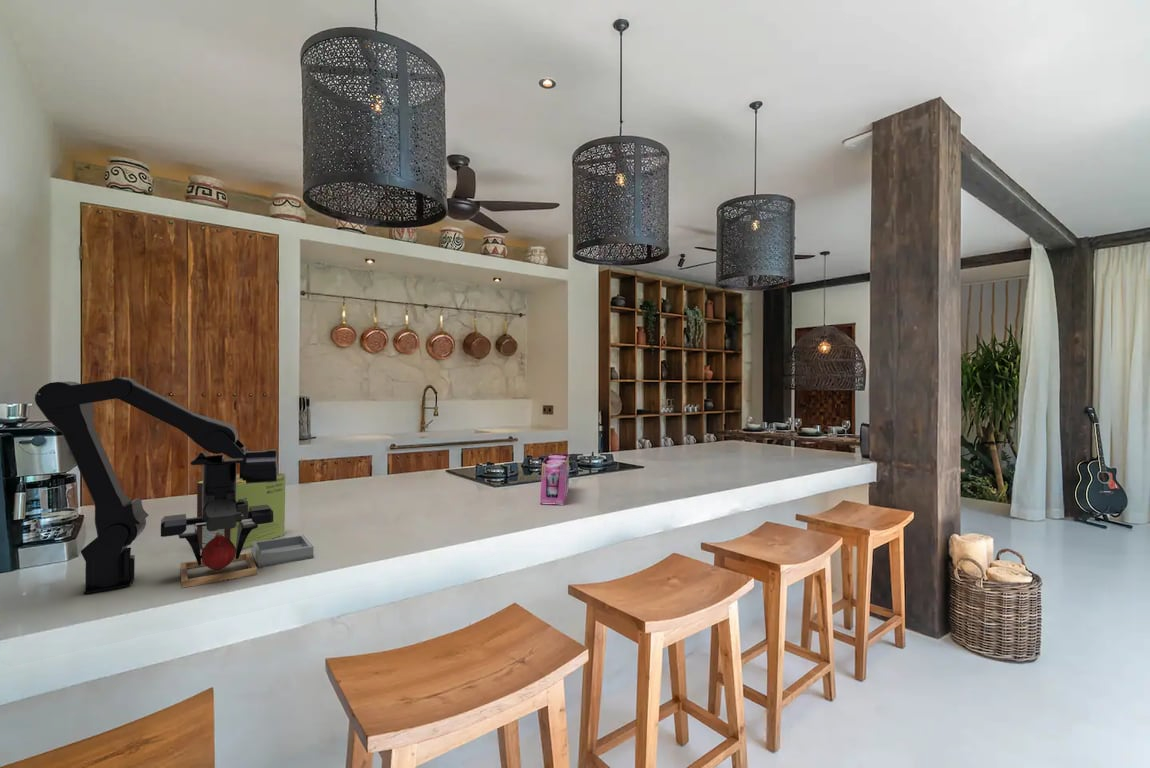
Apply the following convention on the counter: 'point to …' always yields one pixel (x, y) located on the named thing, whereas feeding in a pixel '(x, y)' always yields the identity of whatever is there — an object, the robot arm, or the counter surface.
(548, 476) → the gum box
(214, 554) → the onion
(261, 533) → the protein box
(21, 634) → the counter surface
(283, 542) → the dish
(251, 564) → the brown wooden frame
